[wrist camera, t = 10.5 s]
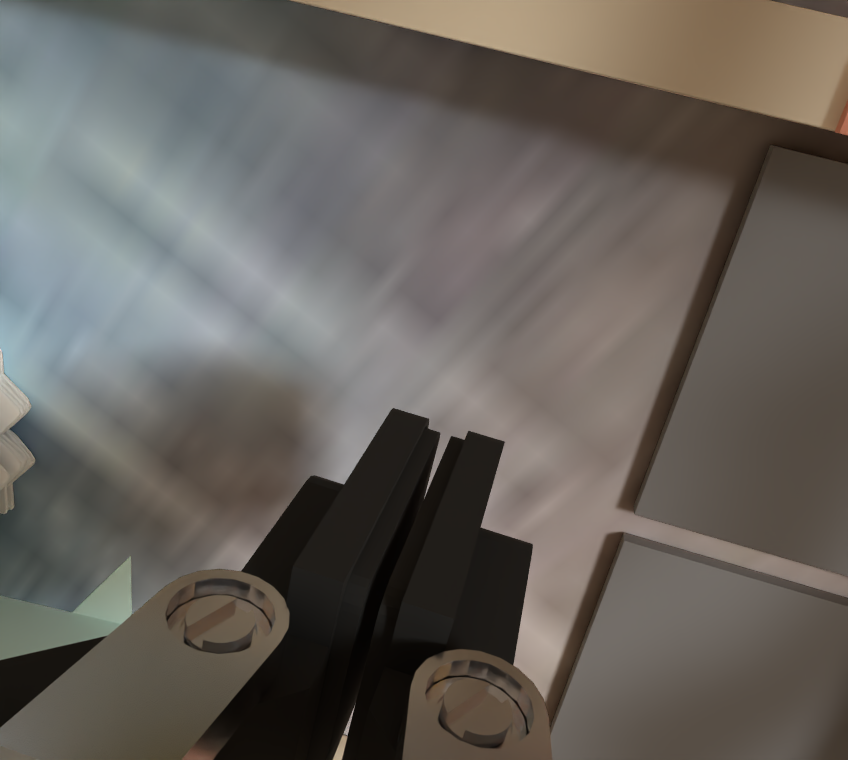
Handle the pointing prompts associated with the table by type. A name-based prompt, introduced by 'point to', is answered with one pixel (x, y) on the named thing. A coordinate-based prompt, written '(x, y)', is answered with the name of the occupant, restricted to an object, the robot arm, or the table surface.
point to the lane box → (718, 398)
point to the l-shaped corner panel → (32, 623)
